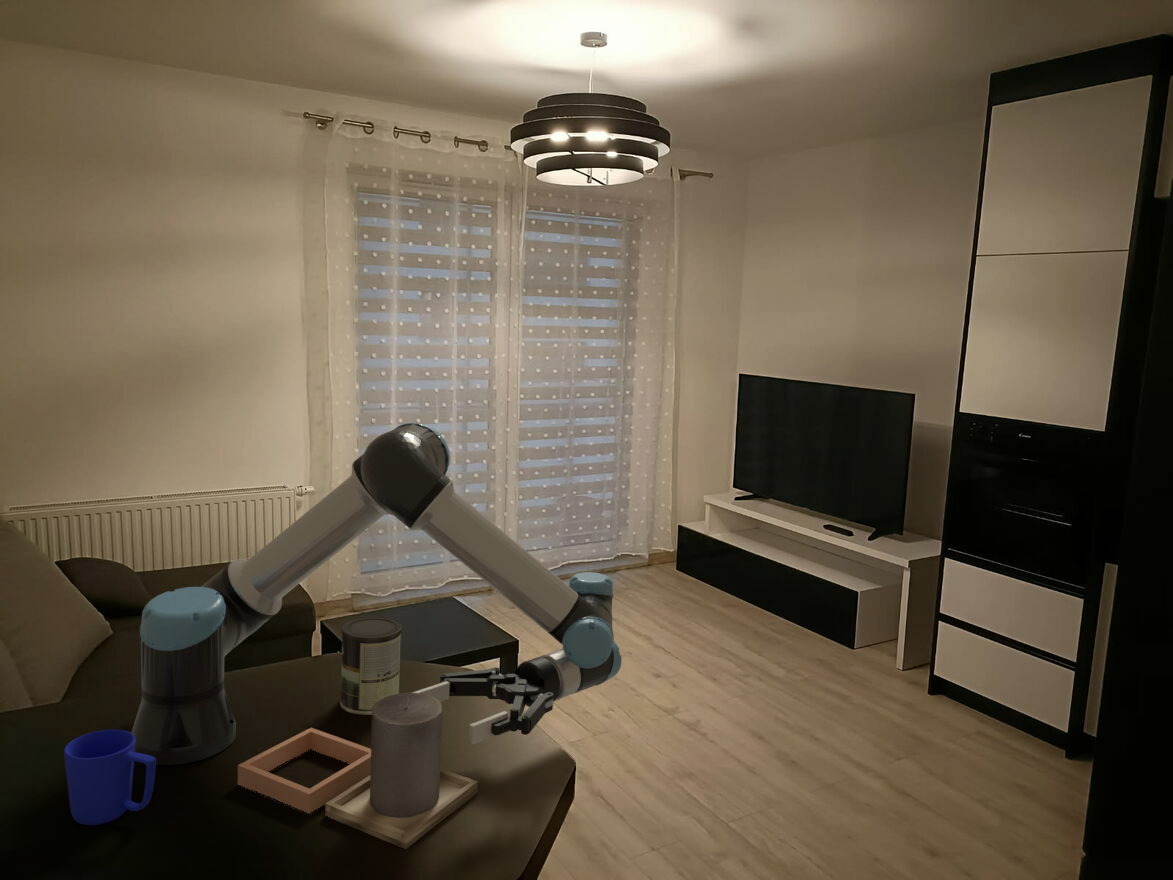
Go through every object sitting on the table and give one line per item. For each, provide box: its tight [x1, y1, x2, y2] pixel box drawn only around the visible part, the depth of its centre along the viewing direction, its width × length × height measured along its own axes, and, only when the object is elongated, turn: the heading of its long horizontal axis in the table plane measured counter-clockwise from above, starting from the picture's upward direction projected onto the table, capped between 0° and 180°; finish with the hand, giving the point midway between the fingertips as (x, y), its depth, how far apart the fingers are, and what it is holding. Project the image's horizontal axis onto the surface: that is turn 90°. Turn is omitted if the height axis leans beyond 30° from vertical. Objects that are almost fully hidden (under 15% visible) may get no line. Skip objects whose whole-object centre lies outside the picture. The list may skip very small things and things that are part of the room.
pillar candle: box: [370, 692, 443, 818], centre depth 117 cm, size 10×10×15 cm
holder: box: [237, 727, 371, 815], centre depth 123 cm, size 14×14×3 cm
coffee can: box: [339, 616, 403, 716], centre depth 148 cm, size 10×10×14 cm
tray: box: [324, 767, 479, 850], centre depth 118 cm, size 14×16×2 cm
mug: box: [63, 729, 157, 826], centre depth 111 cm, size 8×12×10 cm
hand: (440, 717), depth 120 cm, fingers open, 13 cm apart
